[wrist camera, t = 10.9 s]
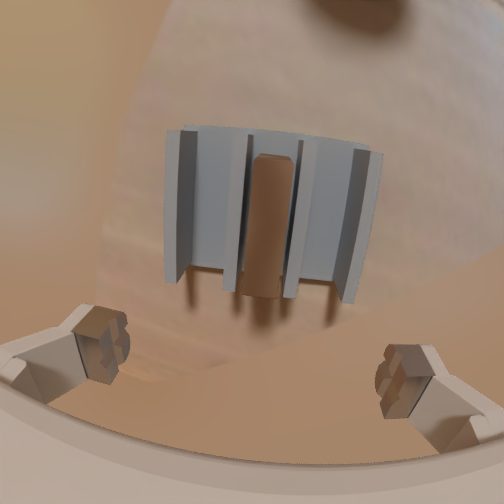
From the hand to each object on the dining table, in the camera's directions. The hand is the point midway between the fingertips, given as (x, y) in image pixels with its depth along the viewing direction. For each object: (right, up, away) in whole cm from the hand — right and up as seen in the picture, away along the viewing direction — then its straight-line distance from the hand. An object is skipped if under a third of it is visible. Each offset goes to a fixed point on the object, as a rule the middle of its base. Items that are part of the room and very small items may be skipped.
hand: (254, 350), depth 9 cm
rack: (+2, +7, +19) cm, 20 cm away
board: (+1, +7, +18) cm, 19 cm away
